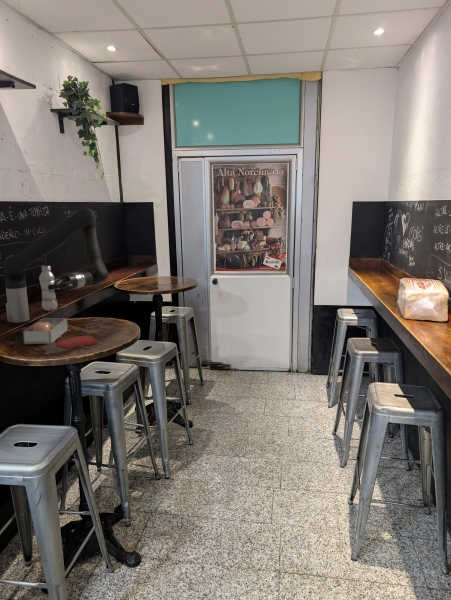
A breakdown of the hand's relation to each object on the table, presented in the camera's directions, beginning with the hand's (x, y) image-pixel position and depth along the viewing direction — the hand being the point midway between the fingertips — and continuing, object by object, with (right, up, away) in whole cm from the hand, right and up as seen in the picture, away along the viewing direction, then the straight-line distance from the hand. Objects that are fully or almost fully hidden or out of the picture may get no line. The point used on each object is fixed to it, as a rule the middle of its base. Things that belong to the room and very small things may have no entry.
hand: (43, 287), depth 185 cm
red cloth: (+17, -25, -7) cm, 31 cm away
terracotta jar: (+1, -23, -4) cm, 23 cm away
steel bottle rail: (+1, -22, +1) cm, 22 cm away
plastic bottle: (+1, -11, +4) cm, 11 cm away
